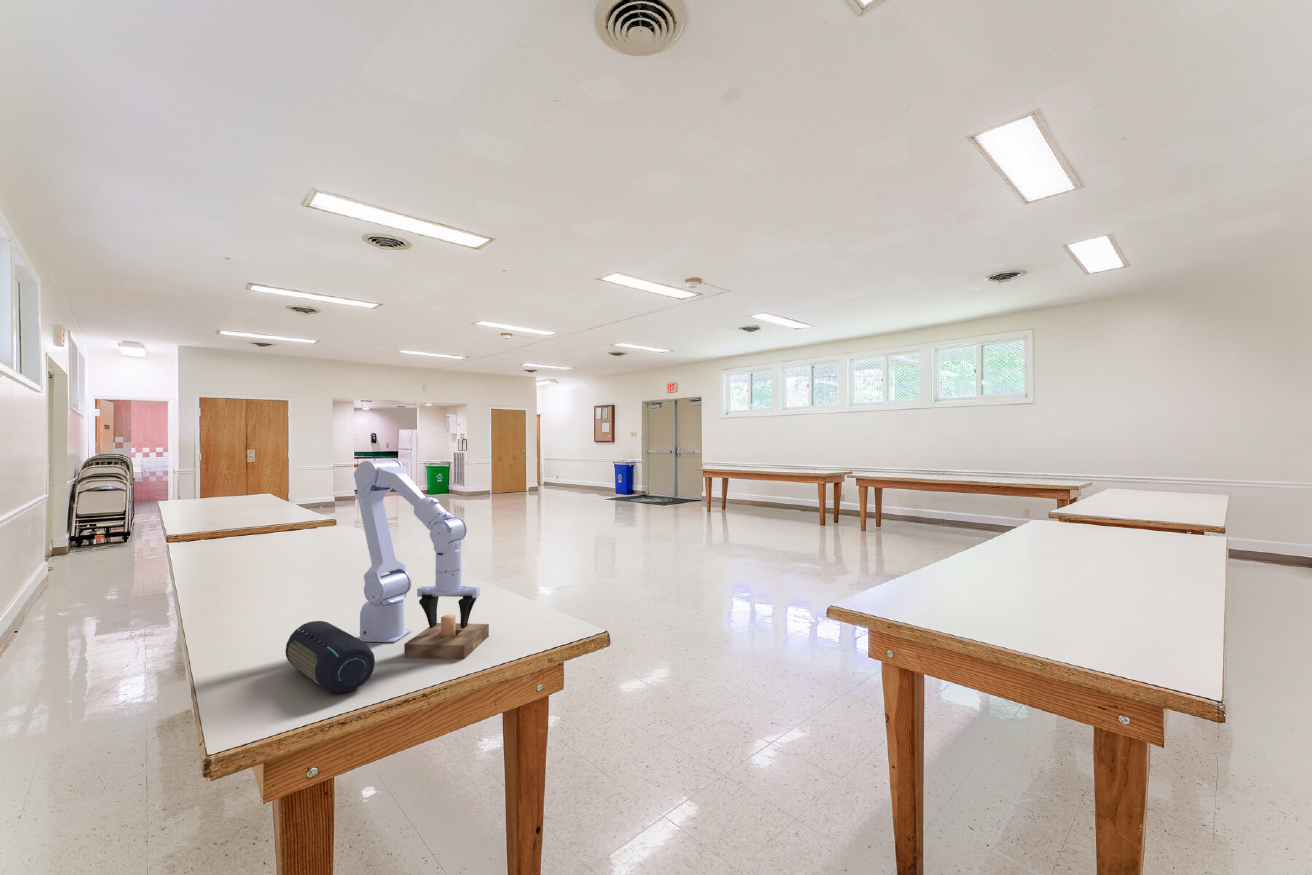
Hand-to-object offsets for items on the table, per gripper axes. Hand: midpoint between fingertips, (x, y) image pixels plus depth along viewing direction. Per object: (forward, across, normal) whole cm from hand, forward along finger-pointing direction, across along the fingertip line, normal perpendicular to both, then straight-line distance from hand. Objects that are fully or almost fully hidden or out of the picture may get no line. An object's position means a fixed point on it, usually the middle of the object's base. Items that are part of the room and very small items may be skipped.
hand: (448, 626), depth 127 cm
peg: (+5, 0, 0) cm, 5 cm away
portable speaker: (+5, -17, -18) cm, 25 cm away
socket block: (+4, 0, 0) cm, 5 cm away
